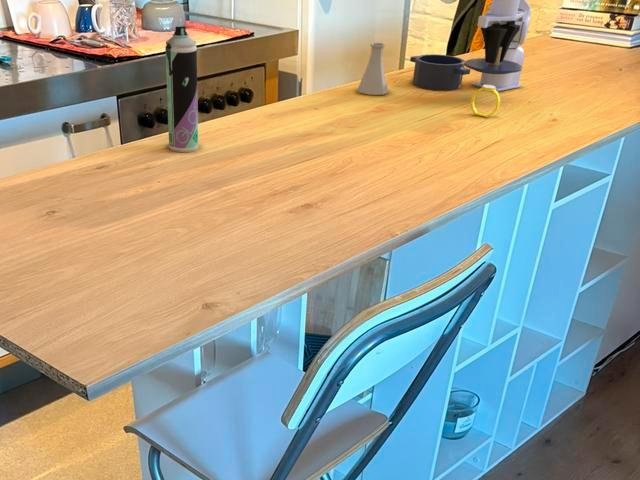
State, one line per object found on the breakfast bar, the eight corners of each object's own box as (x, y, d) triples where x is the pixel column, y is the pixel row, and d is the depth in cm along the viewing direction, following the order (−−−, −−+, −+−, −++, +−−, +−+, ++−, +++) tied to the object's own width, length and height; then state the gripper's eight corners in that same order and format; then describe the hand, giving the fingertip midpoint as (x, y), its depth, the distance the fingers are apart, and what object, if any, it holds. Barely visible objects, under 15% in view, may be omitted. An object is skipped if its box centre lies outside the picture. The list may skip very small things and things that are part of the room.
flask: (386, 97, 187) (392, 48, 181) (355, 94, 188) (360, 45, 182) (389, 89, 193) (394, 42, 186) (358, 87, 194) (363, 39, 187)
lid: (486, 61, 189) (490, 38, 186) (532, 71, 181) (537, 48, 178) (452, 67, 182) (456, 44, 179) (498, 78, 175) (503, 54, 172)
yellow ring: (467, 115, 177) (472, 85, 173) (471, 112, 179) (476, 82, 175) (494, 119, 175) (500, 89, 171) (497, 116, 177) (504, 86, 173)
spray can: (187, 154, 150) (184, 30, 137) (163, 148, 152) (158, 26, 139) (203, 147, 154) (202, 25, 141) (180, 141, 156) (177, 21, 143)
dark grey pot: (426, 75, 206) (430, 50, 202) (479, 89, 196) (483, 63, 192) (394, 80, 200) (397, 55, 197) (447, 95, 190) (451, 69, 187)
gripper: (512, -15, 178) (498, 54, 187) (471, -11, 171) (459, 62, 179) (539, -11, 174) (524, 60, 183) (499, -6, 167) (485, 68, 175)
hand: (493, 61), depth 181 cm, fingers closed on lid, 2 cm apart
